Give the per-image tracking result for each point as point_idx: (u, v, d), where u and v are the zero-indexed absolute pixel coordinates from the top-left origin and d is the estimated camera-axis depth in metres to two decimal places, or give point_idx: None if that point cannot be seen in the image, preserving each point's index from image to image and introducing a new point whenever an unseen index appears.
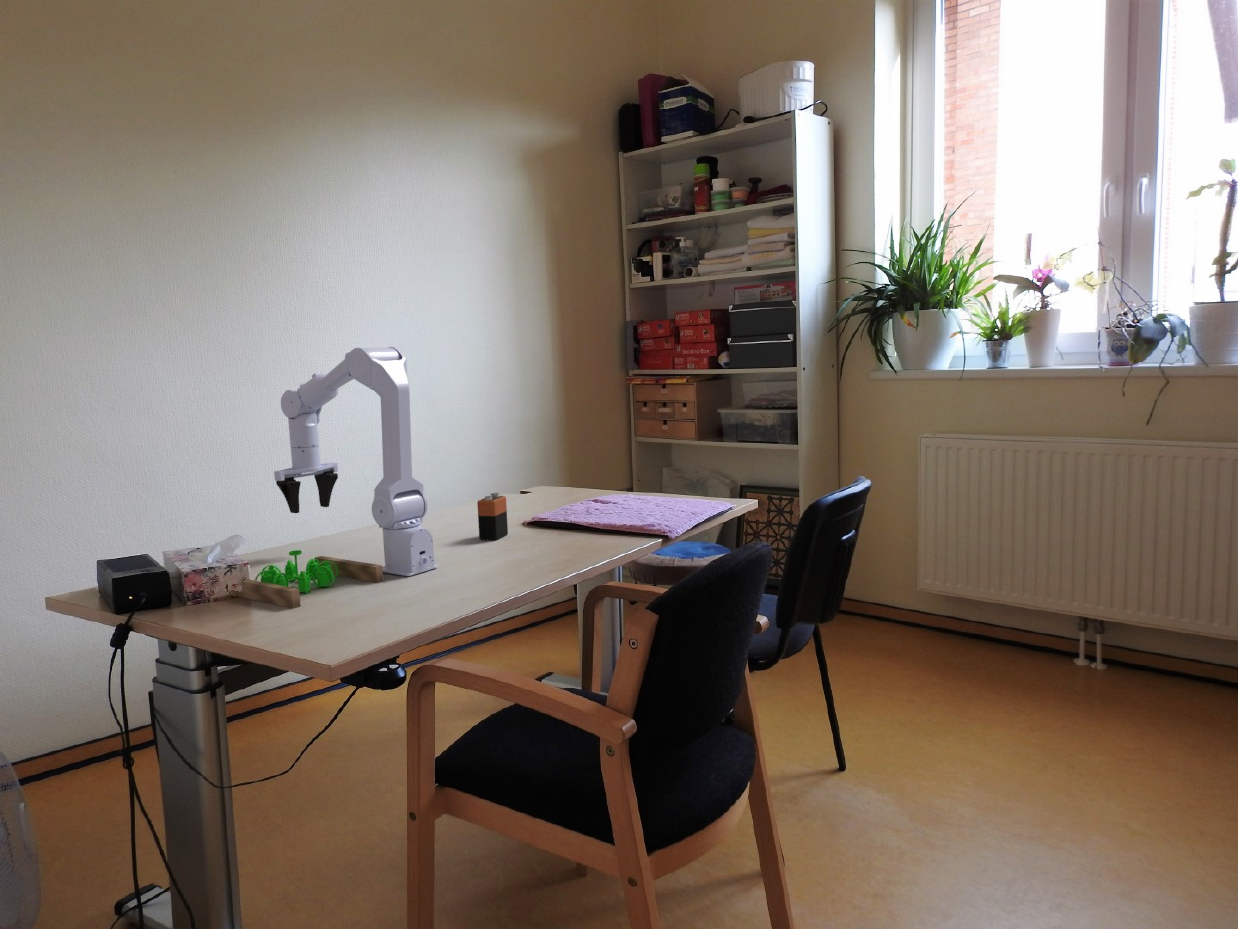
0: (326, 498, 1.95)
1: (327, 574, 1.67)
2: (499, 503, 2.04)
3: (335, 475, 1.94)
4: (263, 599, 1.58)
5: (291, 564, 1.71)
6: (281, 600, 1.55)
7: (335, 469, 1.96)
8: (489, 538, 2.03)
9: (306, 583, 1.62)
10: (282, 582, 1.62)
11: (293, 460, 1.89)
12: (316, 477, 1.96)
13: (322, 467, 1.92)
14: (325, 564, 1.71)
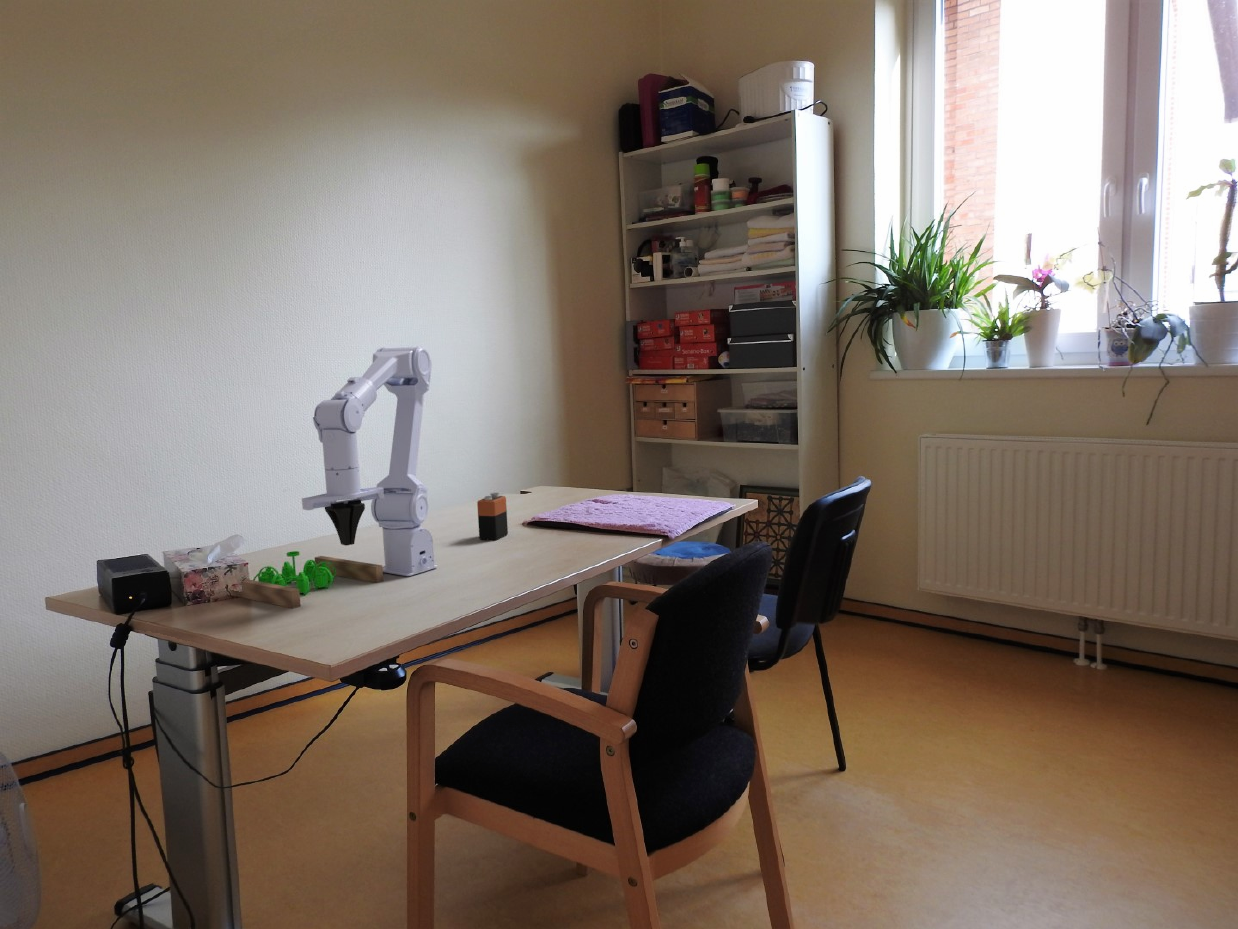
0: (350, 534, 1.58)
1: (325, 575, 1.66)
2: (499, 503, 2.04)
3: (361, 506, 1.57)
4: (263, 599, 1.58)
5: (288, 565, 1.71)
6: (281, 600, 1.55)
7: (380, 495, 1.62)
8: (489, 538, 2.03)
9: (305, 584, 1.61)
10: (281, 583, 1.62)
11: (326, 485, 1.56)
12: None
13: (361, 493, 1.58)
14: (323, 565, 1.70)
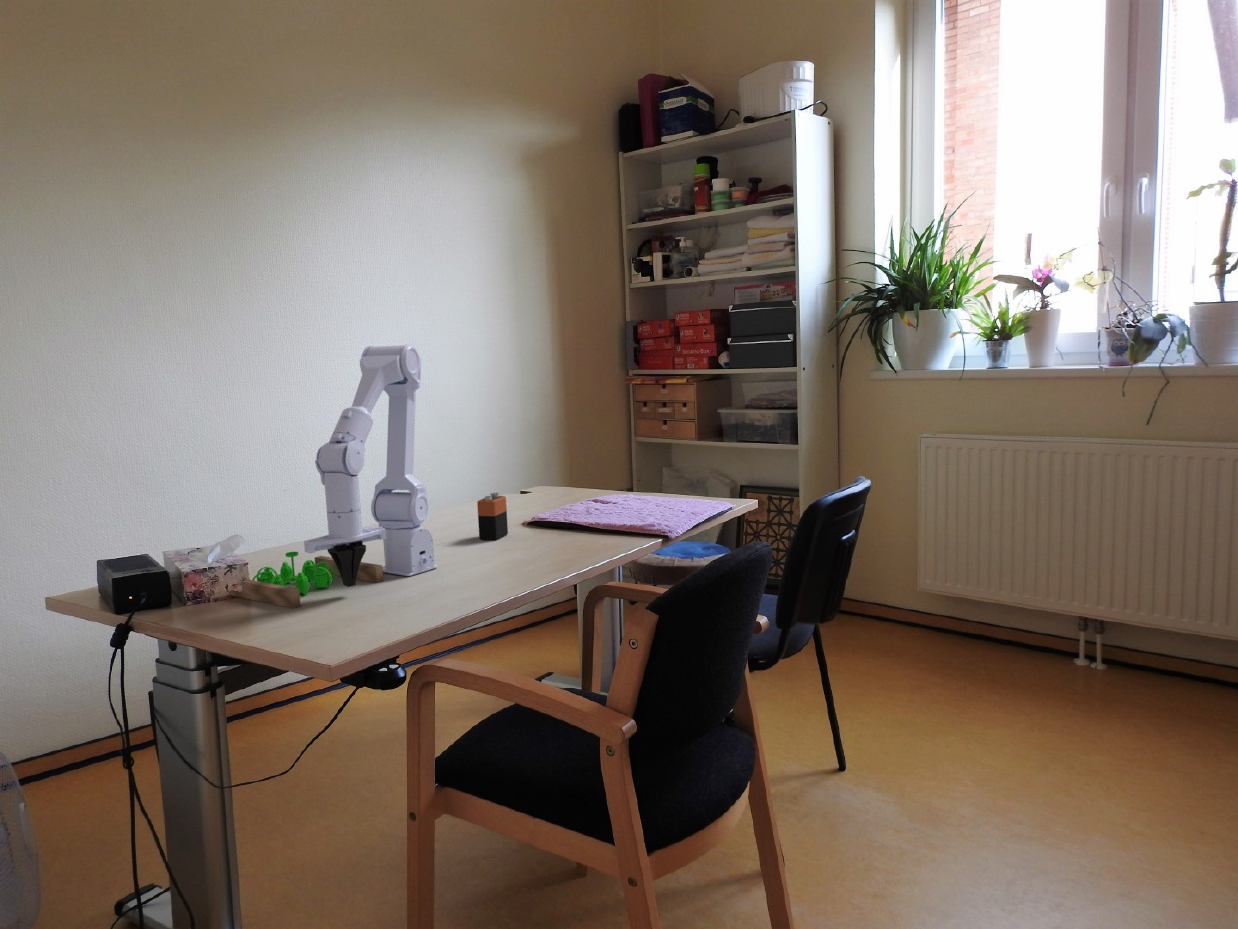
0: (352, 575, 1.59)
1: (325, 575, 1.66)
2: (499, 503, 2.04)
3: (362, 548, 1.58)
4: (263, 599, 1.58)
5: (287, 566, 1.70)
6: (281, 600, 1.55)
7: (382, 536, 1.63)
8: (489, 538, 2.03)
9: (304, 584, 1.61)
10: (280, 584, 1.61)
11: (328, 527, 1.57)
12: None
13: (363, 535, 1.59)
14: (322, 565, 1.70)
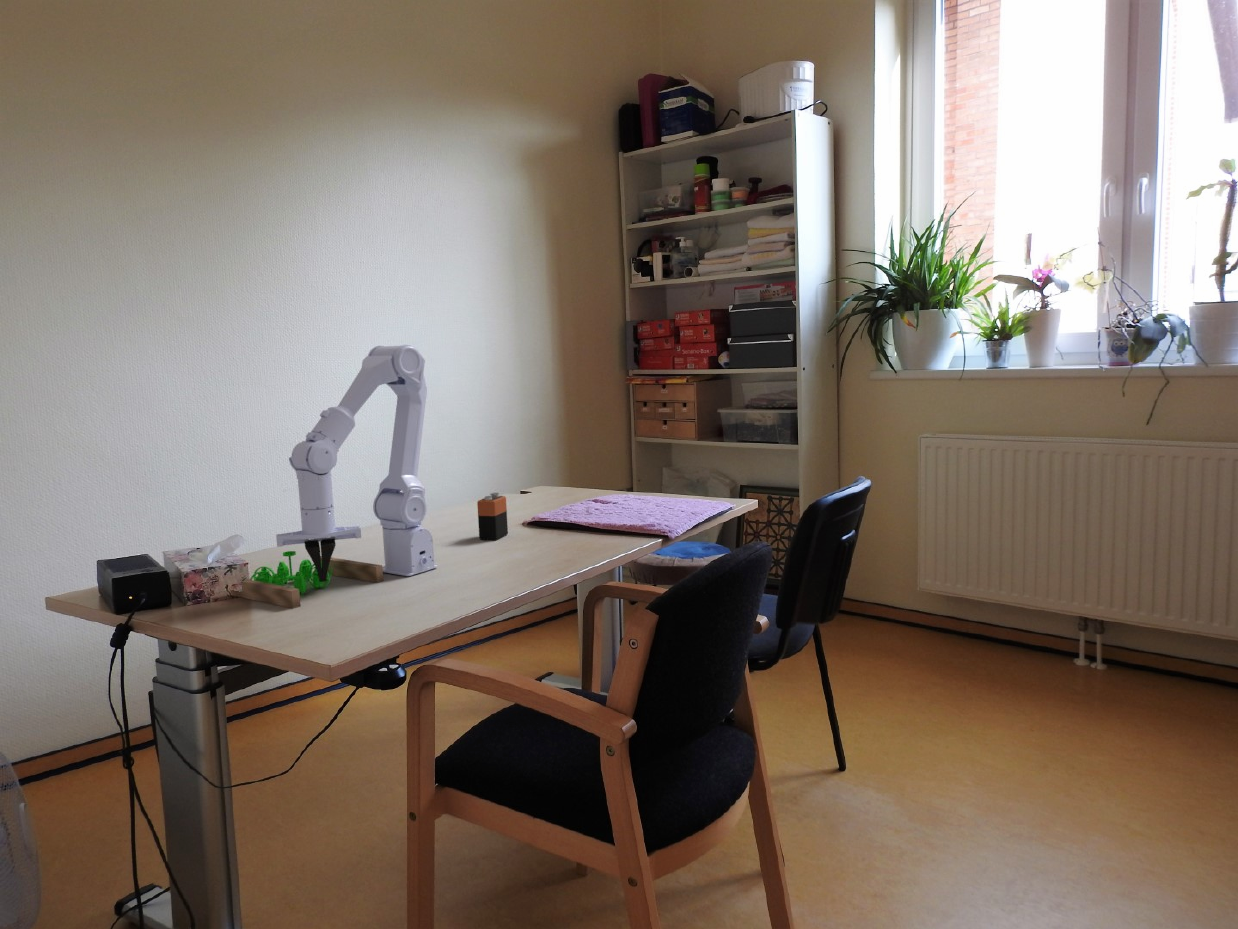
0: (322, 571, 1.63)
1: None
2: (499, 503, 2.04)
3: (329, 545, 1.61)
4: (263, 599, 1.58)
5: (284, 565, 1.70)
6: (281, 600, 1.55)
7: (357, 535, 1.65)
8: (489, 538, 2.03)
9: (303, 583, 1.61)
10: (278, 583, 1.61)
11: (301, 522, 1.62)
12: (320, 544, 1.65)
13: (332, 533, 1.62)
14: None
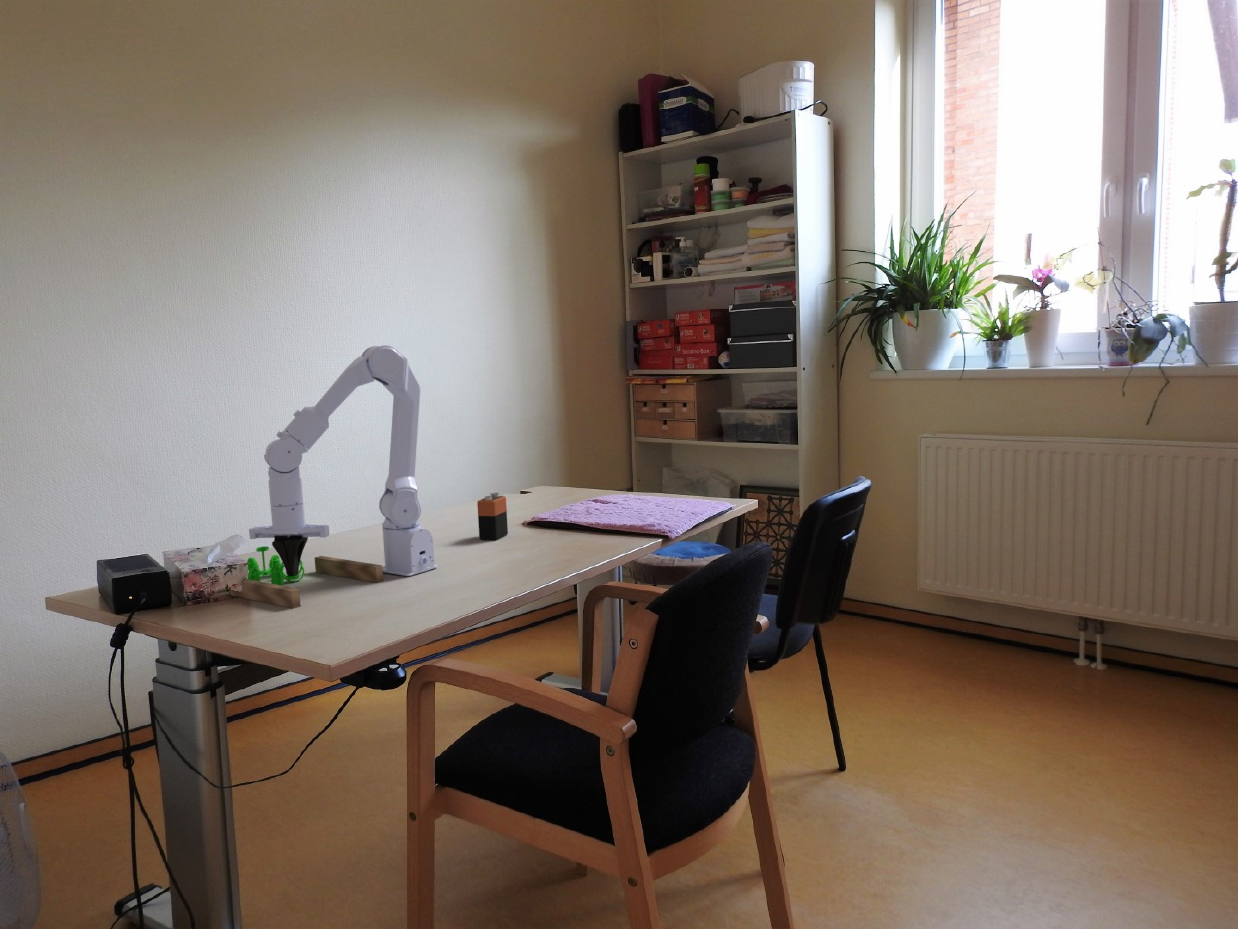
0: None
1: None
2: (499, 503, 2.04)
3: (291, 542, 1.65)
4: (263, 599, 1.58)
5: (254, 561, 1.75)
6: (281, 600, 1.55)
7: (321, 534, 1.67)
8: (489, 538, 2.03)
9: (281, 577, 1.67)
10: (256, 577, 1.66)
11: None
12: None
13: (294, 530, 1.65)
14: None
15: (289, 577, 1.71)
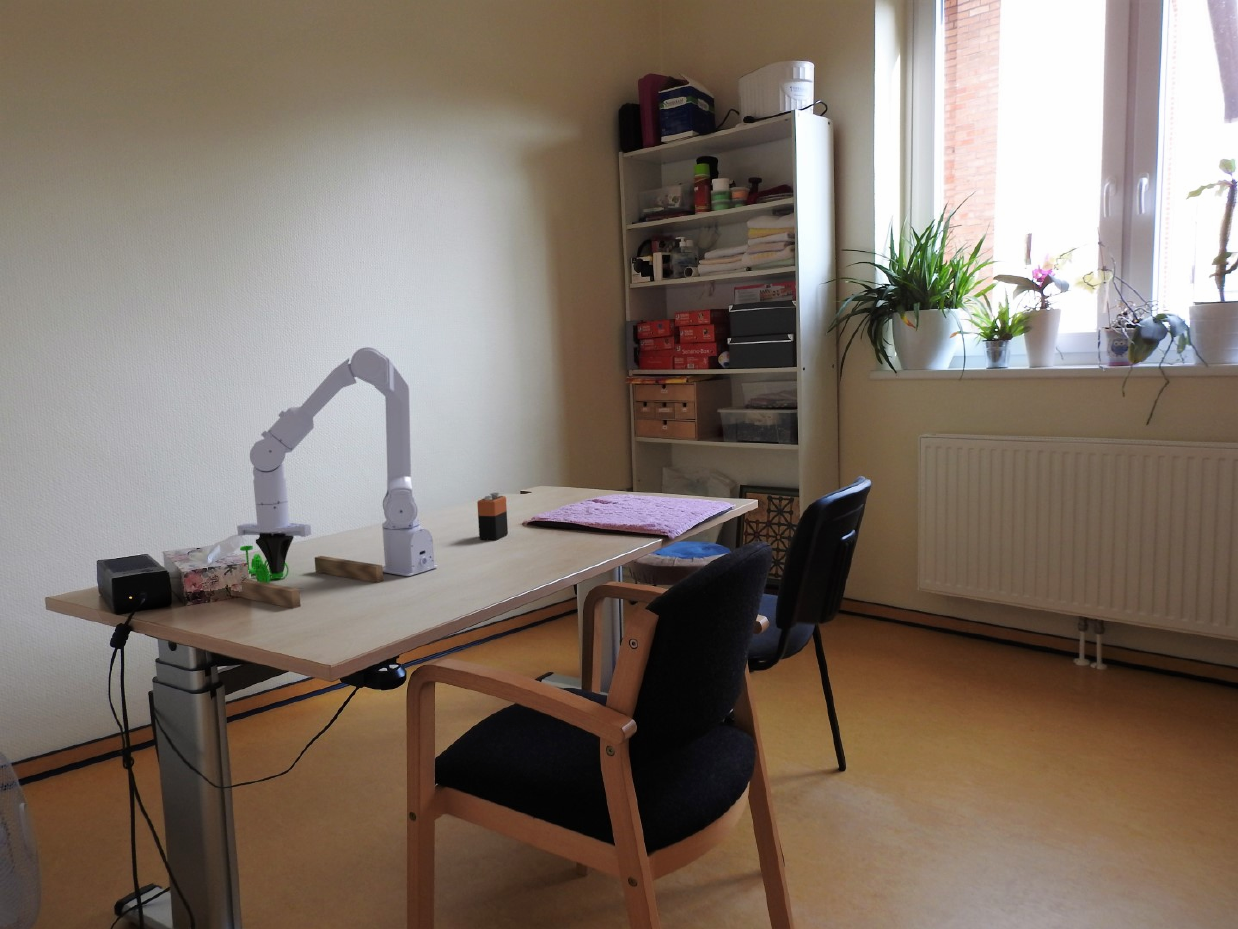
0: None
1: None
2: (499, 503, 2.04)
3: (273, 540, 1.68)
4: (263, 599, 1.58)
5: None
6: (281, 600, 1.55)
7: (301, 533, 1.68)
8: (489, 538, 2.03)
9: (268, 575, 1.69)
10: None
11: None
12: None
13: (275, 529, 1.68)
14: None
15: (274, 575, 1.74)
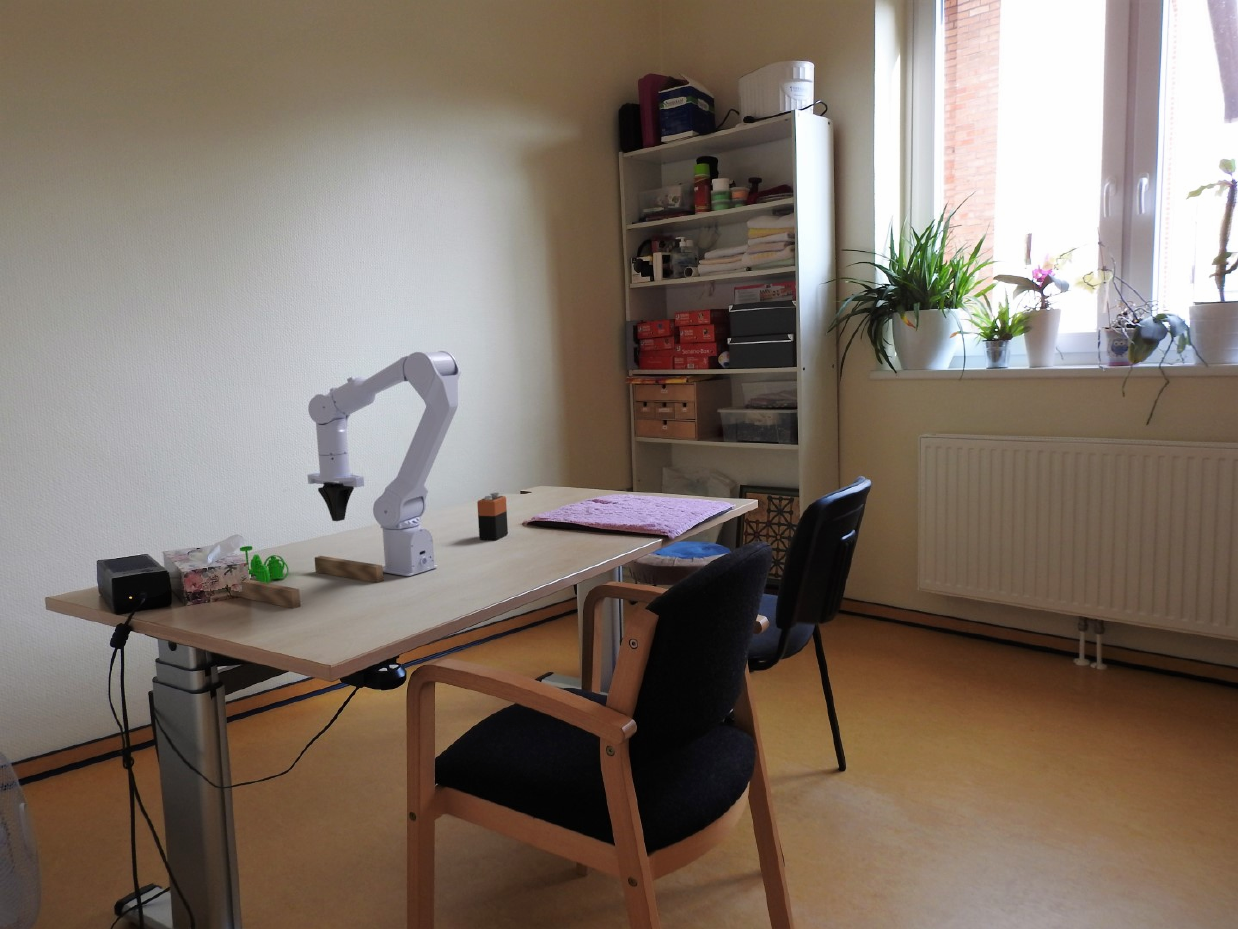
0: None
1: (281, 566, 1.74)
2: (499, 503, 2.04)
3: (330, 489, 1.78)
4: (263, 599, 1.58)
5: None
6: (281, 600, 1.55)
7: (354, 484, 1.77)
8: (489, 538, 2.03)
9: (268, 575, 1.69)
10: None
11: None
12: None
13: (332, 479, 1.78)
14: (273, 558, 1.77)
15: (274, 576, 1.73)
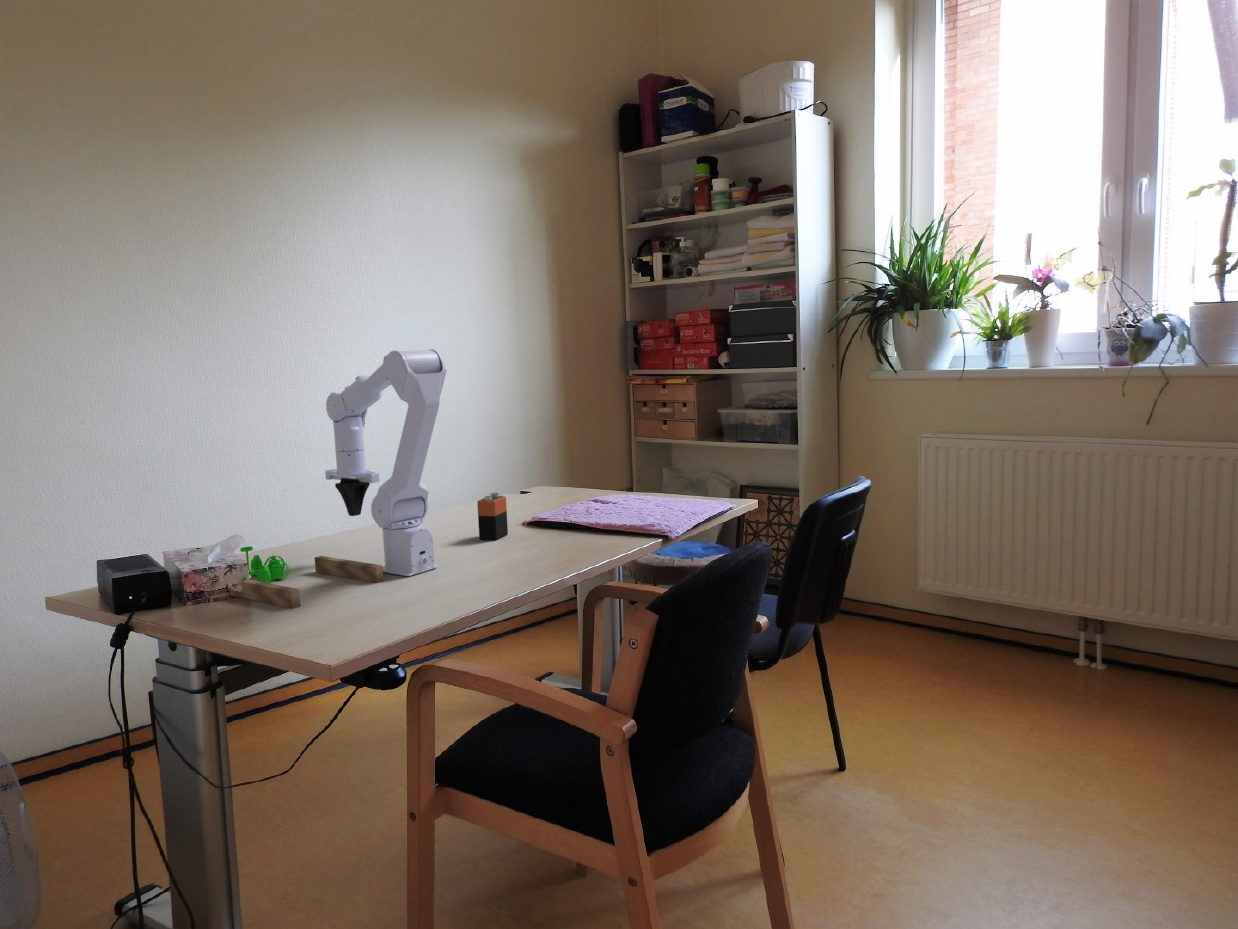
0: None
1: (282, 567, 1.74)
2: (499, 503, 2.04)
3: (346, 485, 1.84)
4: (263, 599, 1.58)
5: None
6: (281, 600, 1.55)
7: (369, 480, 1.82)
8: (489, 538, 2.03)
9: (269, 576, 1.69)
10: None
11: None
12: None
13: (348, 474, 1.83)
14: (273, 558, 1.77)
15: (274, 576, 1.73)
